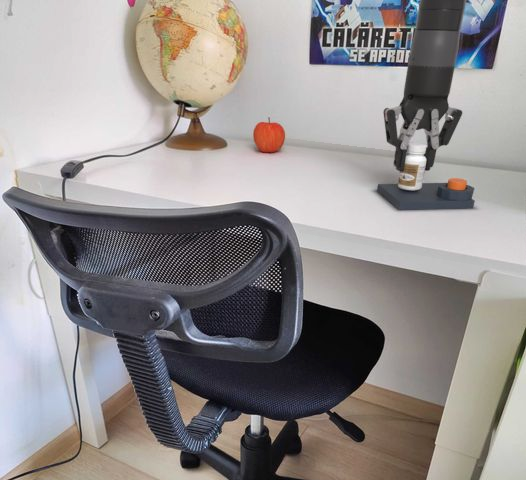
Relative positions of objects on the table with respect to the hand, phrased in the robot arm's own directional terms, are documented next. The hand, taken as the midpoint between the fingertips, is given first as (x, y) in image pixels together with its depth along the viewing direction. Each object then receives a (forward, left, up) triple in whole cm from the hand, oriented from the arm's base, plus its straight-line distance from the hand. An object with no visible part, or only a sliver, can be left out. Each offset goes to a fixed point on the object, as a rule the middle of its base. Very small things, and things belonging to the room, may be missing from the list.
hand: (412, 169), depth 91 cm
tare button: (-7, +4, -3) cm, 9 cm away
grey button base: (-2, +1, -5) cm, 6 cm away
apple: (+21, -42, -5) cm, 47 cm away
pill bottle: (0, 0, -4) cm, 4 cm away
